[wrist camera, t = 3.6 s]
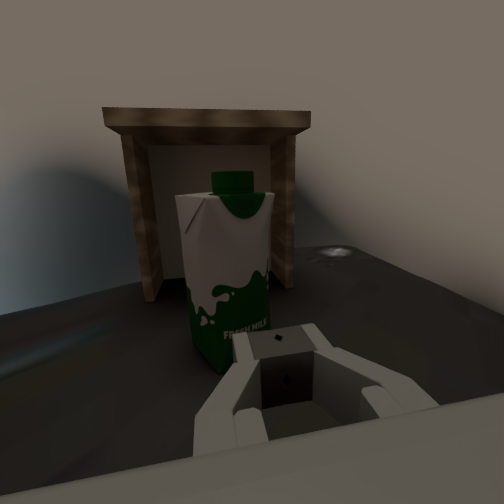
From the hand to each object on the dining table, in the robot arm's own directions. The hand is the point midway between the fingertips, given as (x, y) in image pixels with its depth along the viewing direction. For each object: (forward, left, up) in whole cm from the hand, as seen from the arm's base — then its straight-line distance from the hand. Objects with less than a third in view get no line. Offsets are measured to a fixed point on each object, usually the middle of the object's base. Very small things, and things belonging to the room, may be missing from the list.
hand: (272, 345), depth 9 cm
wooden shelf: (0, +37, -13) cm, 40 cm away
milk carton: (0, +19, -13) cm, 24 cm away
